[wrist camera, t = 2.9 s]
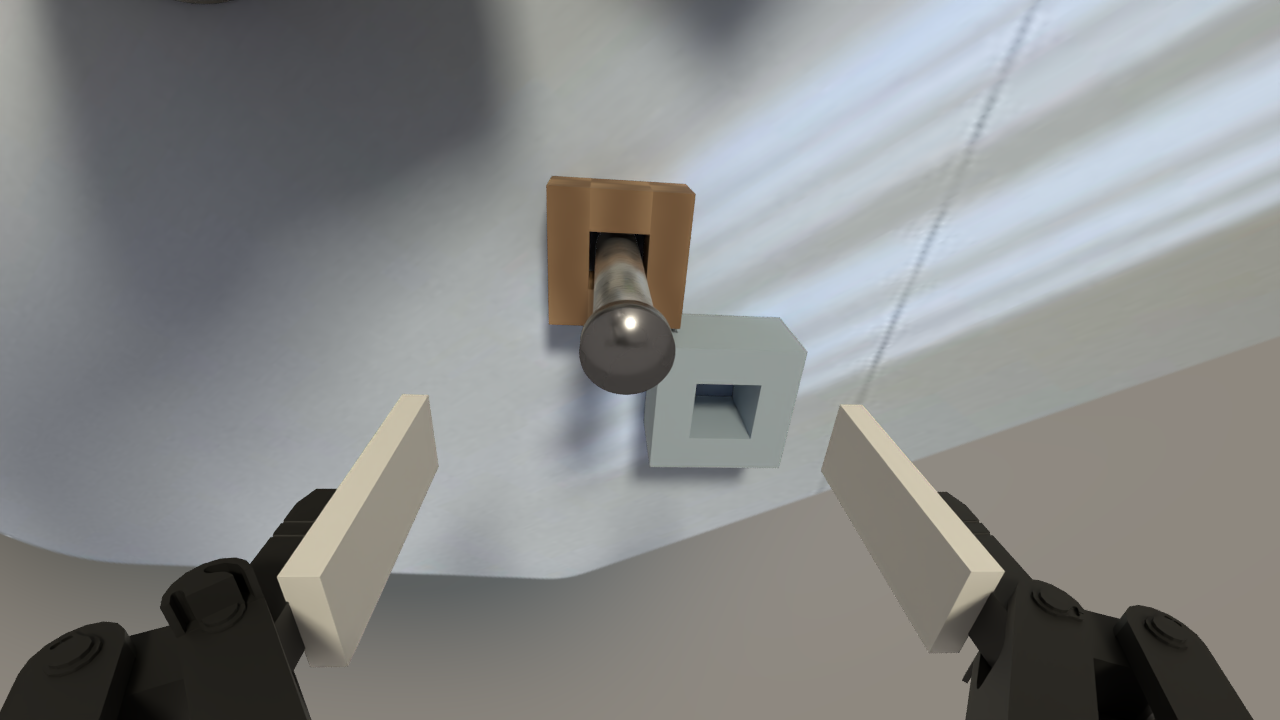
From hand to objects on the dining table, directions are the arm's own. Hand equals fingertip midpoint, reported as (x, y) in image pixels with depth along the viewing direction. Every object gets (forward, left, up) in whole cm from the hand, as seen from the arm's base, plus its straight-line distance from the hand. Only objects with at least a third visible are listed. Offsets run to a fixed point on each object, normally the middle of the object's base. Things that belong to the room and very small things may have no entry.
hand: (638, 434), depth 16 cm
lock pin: (0, 0, -22) cm, 22 cm away
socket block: (+8, -10, -22) cm, 26 cm away
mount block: (0, 0, -22) cm, 22 cm away
